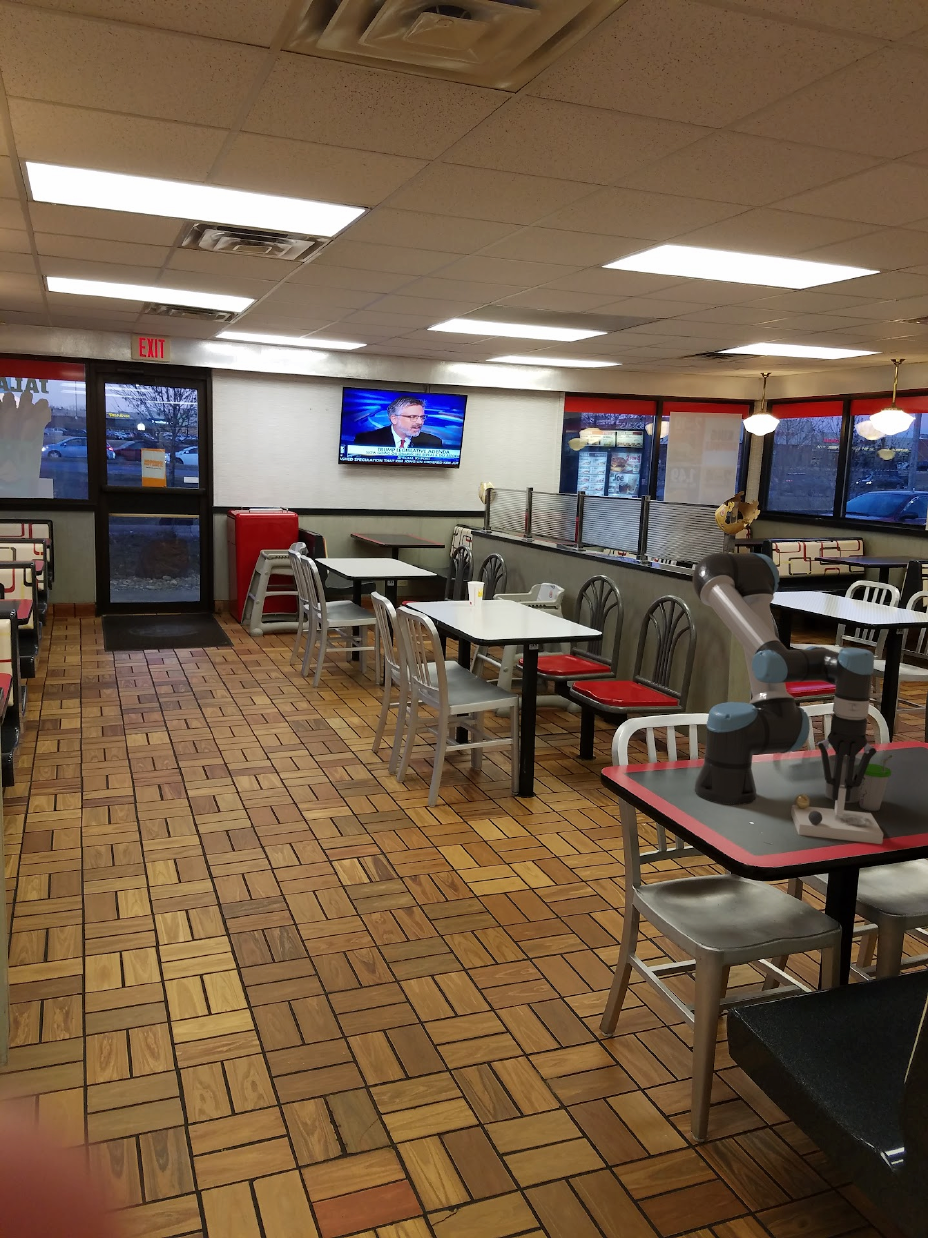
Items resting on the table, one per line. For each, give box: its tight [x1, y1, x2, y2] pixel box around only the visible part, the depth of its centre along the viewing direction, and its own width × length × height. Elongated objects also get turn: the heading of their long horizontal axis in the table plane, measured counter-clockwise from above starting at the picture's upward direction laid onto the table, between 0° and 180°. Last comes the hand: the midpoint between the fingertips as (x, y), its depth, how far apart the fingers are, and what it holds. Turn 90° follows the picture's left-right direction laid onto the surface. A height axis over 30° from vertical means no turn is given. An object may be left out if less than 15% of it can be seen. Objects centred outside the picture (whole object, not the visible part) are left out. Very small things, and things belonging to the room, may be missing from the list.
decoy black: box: [808, 811, 822, 824], centre depth 214 cm, size 3×3×3 cm
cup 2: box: [857, 754, 893, 812], centre depth 232 cm, size 8×8×15 cm
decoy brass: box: [794, 793, 811, 809], centre depth 224 cm, size 3×3×3 cm
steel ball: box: [846, 817, 860, 824], centre depth 217 cm, size 3×3×3 cm
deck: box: [790, 804, 884, 845], centre depth 218 cm, size 18×13×2 cm
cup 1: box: [824, 754, 861, 804], centre depth 240 cm, size 8×8×10 cm
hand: (838, 813), depth 218 cm, fingers closed
